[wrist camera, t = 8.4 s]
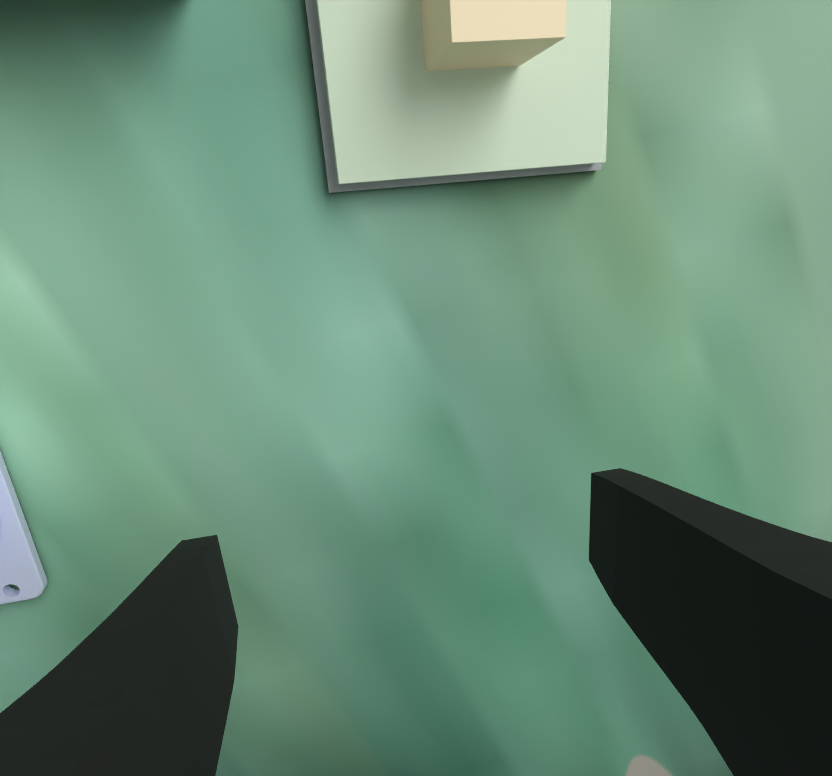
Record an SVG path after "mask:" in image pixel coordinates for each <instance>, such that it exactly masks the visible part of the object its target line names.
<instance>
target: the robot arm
mask: <svg viewBox="0 0 832 776" xmlns="http://www.w3.org/2000/svg"><path fill="white" fill-rule="evenodd" d="M589 561H590V563H591V565H592V567H593V569H594V570H595V572H596V574H597V576H598V578H599V580H600V582H601V584H602V585H603V587H604V589H605V591H606V592H607V594H608V596H609V597H610V599H611V601H612V603H613V604H614V606H615V607H616V608H617V610H618V611H619V613H620V614H621V615H622V617H623V618H624V619H625V621H626V622H627V624H628V625H629V626H630V628H631V629H632V630H633V632H634V633H635V634H636V636H637V637H638V638H639V640H640V641H641V642H642V644H643V645H644V646H645V648H646V649H647V650H648V652H649V653H650V654H651V656H652V657H653V658H654V660H655V661H656V662H657V664H658V665H659V666H660V668H661V669H662V670H663V672H664V673H665V674H666V676H667V677H668V678H669V680H670V681H671V682H672V684H673V685H674V686H675V688H676V689H677V690H678V692H679V693H680V694H681V696H682V697H683V698H684V700H685V701H686V702H687V704H688V705H689V707H690V708H691V710H692V711H693V712H694V714H695V715H696V717H697V718H698V720H699V721H700V723H701V724H702V725H703V727H704V728H705V730H706V731H707V733H708V735H709V736H710V738H711V740H712V741H713V743H714V745H715V746H716V748H717V749H718V751H719V753H720V754H721V756H722V758H723V759H724V761H725V762H726V764H727V766H728V767H729V769H730V771H731V772H732V774H733V775H734V776H832V542H828V541H824V540H821V539H817V538H814V537H810V536H807V535H804V534H801V533H797V532H794V531H791V530H788V529H785V528H782V527H779V526H776V525H773V524H770V523H767V522H765V521H762V520H759V519H756V518H753V517H750V516H747V515H745V514H742V513H739V512H736V511H734V510H731V509H728V508H726V507H723V506H720V505H718V504H715V503H713V502H710V501H707V500H705V499H702V498H700V497H697V496H695V495H692V494H690V493H687V492H684V491H682V490H679V489H677V488H674V487H672V486H669V485H667V484H664V483H662V482H659V481H656V480H654V479H651V478H648V477H646V476H643V475H640V474H637V473H634V472H631V471H628V470H624V469H621V468H619V469H613V470H607V471H601V472H595V473H591V503H590V538H589ZM9 584H14V585H16V586H18V588H19V590H18V589H13V588H11V587H10V586H9ZM46 586H47V578H46V575H45V572H44V570H43V567H42V564H41V561H40V559H39V556H38V553H37V550H36V548H35V545H34V542H33V539H32V537H31V534H30V531H29V528H28V526H27V523H26V520H25V517H24V515H23V512H22V509H21V506H20V504H19V501H18V498H17V495H16V493H15V490H14V487H13V484H12V482H11V479H10V476H9V473H8V471H7V468H6V465H5V462H4V459H3V457H2V454H1V451H0V604H5V603H11V602H17V601H22V600H28V599H33V598H36V597H38V596H39V595H41V594H42V592H43V591H44V589H45V588H46ZM237 635H238V623H237V619H236V615H235V611H234V606H233V602H232V598H231V593H230V589H229V585H228V580H227V576H226V572H225V568H224V563H223V559H222V555H221V550H220V546H219V542H218V537H217V535H213V536H207V537H201V538H195V539H189V540H183V541H181V542H180V543H179V544H178V545H177V546H176V547H175V548H174V549H173V550H172V551H171V552H170V553H169V554H168V555H167V556H166V557H165V558H164V559H163V560H162V561H161V562H160V563H159V565H158V566H157V567H156V568H155V569H154V570H153V571H152V572H151V573H150V574H149V575H148V576H147V577H146V578H145V579H144V581H143V582H142V583H141V584H140V585H139V586H138V587H137V588H136V589H135V590H134V591H133V592H132V593H131V594H130V595H129V596H128V597H127V598H126V599H125V600H124V601H123V602H122V603H121V604H120V605H119V606H118V607H117V609H116V610H115V611H114V612H113V613H112V614H111V615H110V616H109V617H108V618H107V619H106V620H105V621H103V622H102V623H101V624H100V625H99V626H98V627H97V628H96V629H95V630H94V631H93V632H92V633H91V634H90V635H89V636H88V637H87V638H86V639H85V640H83V641H82V642H81V643H80V644H79V645H78V646H77V647H76V648H75V649H74V650H73V651H72V652H71V653H70V654H69V655H68V656H67V657H66V658H65V659H63V660H62V661H61V662H60V663H59V664H58V665H57V666H56V667H55V668H54V669H52V670H51V671H50V672H49V673H48V674H47V675H46V676H45V677H43V678H42V679H41V680H40V681H39V682H38V683H36V684H35V685H34V686H33V687H32V688H31V689H29V690H28V691H27V692H26V693H25V694H23V695H22V696H21V697H20V698H18V699H17V700H16V701H15V702H13V703H12V704H11V705H10V706H9V707H7V708H6V709H5V710H4V711H2V712H1V713H0V776H215V774H216V769H217V764H218V759H219V754H220V750H221V745H222V740H223V735H224V730H225V725H226V720H227V715H228V709H229V704H230V699H231V694H232V689H233V683H234V676H235V664H236V651H237Z"/></svg>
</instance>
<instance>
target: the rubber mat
mask: <svg viewBox="0 0 832 776" xmlns="http://www.w3.org/2000/svg"><path fill="white" fill-rule="evenodd" d="M305 5H306V13H307V21H308V29H309V37H310V45H311V53H312V61H313V69H314V77H315V85H316V93H317V101H318V109H319V118H320V126H321V134H322V142H323V150H324V158H325V166H326V174H327V182H328V190H329V193H332V192H344V191H356V190H368V189H380V188H392V187H404V186H416V185H428V184H440V183H452V182H464V181H476V180H488V179H500V178H512V177H523V176H535V175H547V174H559V173H571V172H583V171H595V170H602V164H603V162H601V163H592V164H580V165H568V166H555V167H543V168H531V169H519V170H507V171H495V172H483V173H470V174H458V175H446V176H434V177H422V178H410V179H398V180H385V181H373V182H361V183H349V184H338V181H337V173H336V164H335V156H334V147H333V139H332V131H331V122H330V114H329V105H328V97H327V89H326V80H325V72H324V63H323V55H322V47H321V38H320V30H319V21H318V13H317V5H316V0H305Z"/></svg>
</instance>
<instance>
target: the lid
mask: <svg viewBox="0 0 832 776" xmlns="http://www.w3.org/2000/svg"><path fill="white" fill-rule="evenodd" d="M316 5H317V13H318V21H319V30H320V38H321V47H322V55H323V63H324V72H325V80H326V89H327V97H328V105H329V114H330V122H331V131H332V139H333V147H334V156H335V164H336V173H337V181H338V184H349V183H361V182H373V181H385V180H398V179H410V178H422V177H434V176H446V175H458V174H470V173H483V172H495V171H507V170H519V169H531V168H543V167H555V166H568V165H580V164H592V163H601V162H606V139H607V107H608V75H609V43H610V11H611V0H316Z"/></svg>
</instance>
